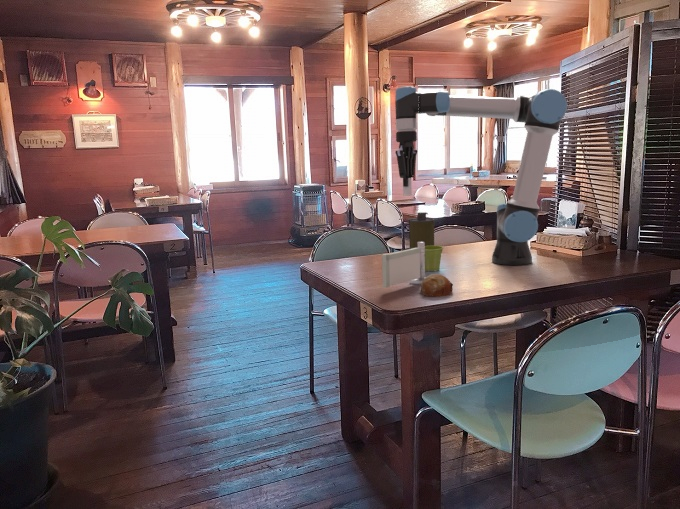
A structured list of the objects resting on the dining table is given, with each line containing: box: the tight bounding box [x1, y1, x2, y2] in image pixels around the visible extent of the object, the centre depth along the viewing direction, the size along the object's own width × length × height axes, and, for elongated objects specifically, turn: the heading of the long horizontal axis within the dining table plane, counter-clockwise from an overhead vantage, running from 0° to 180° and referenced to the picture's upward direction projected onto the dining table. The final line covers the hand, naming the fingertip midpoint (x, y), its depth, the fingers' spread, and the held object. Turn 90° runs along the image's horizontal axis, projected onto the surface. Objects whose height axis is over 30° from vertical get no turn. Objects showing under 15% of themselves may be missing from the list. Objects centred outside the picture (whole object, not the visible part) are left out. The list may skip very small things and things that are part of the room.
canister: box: [408, 211, 436, 249], centre depth 227 cm, size 11×10×20 cm
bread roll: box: [419, 273, 454, 298], centre depth 176 cm, size 10×10×8 cm
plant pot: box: [425, 245, 444, 272], centre depth 211 cm, size 9×9×9 cm
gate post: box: [409, 242, 427, 286], centre depth 191 cm, size 6×6×14 cm
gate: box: [381, 248, 420, 288], centre depth 184 cm, size 17×2×11 cm, turn 133°
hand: (407, 195), depth 208 cm, fingers closed
